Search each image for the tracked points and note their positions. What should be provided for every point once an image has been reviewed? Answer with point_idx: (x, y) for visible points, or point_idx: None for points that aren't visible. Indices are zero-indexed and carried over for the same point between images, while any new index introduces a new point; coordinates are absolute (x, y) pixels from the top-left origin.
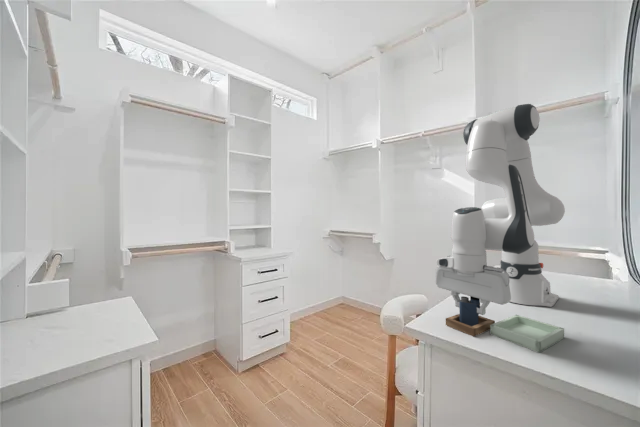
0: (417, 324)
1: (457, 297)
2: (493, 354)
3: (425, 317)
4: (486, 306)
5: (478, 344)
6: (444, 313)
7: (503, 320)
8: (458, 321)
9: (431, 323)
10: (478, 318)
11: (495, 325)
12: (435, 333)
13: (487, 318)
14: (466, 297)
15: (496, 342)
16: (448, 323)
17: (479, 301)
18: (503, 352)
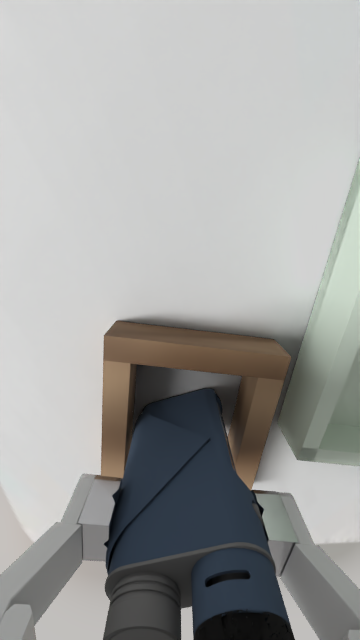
0: (44, 531)
1: (50, 579)
2: (320, 538)
3: (3, 463)
4: (336, 575)
5: None
6: (4, 352)
7: (346, 344)
8: (130, 427)
9: (65, 493)
10: (220, 422)
11: (319, 445)
12: None
13: (247, 353)
14: (151, 638)
15: (312, 468)
16: None
17: (283, 607)
18: (343, 511)
